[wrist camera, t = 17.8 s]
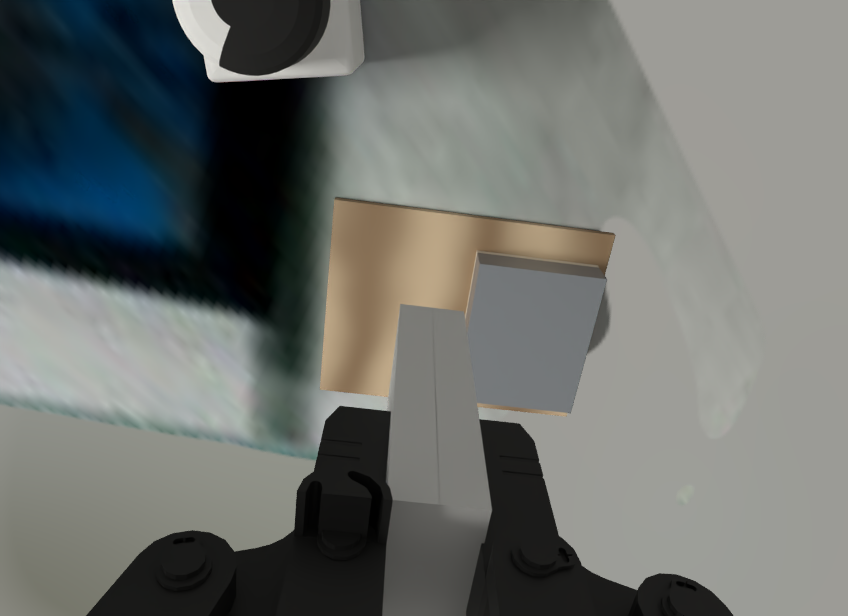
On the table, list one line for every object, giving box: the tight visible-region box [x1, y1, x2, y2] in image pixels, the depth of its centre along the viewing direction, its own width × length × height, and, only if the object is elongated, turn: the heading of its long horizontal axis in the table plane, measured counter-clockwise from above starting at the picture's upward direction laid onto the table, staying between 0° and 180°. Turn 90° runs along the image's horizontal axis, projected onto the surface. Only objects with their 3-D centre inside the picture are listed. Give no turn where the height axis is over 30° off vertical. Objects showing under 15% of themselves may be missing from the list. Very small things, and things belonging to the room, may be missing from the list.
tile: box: [465, 250, 607, 413], centre depth 43 cm, size 2×10×8 cm
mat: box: [320, 198, 615, 416], centre depth 44 cm, size 18×14×1 cm
